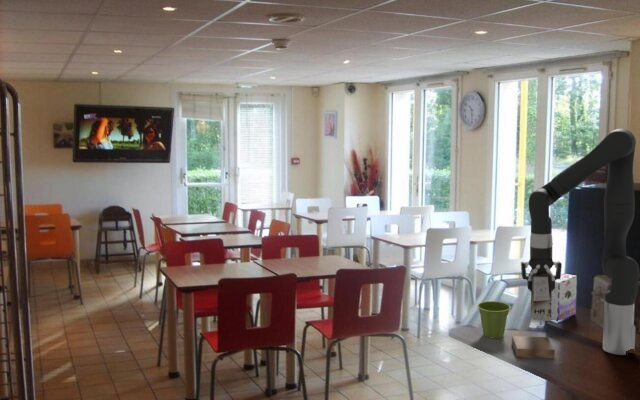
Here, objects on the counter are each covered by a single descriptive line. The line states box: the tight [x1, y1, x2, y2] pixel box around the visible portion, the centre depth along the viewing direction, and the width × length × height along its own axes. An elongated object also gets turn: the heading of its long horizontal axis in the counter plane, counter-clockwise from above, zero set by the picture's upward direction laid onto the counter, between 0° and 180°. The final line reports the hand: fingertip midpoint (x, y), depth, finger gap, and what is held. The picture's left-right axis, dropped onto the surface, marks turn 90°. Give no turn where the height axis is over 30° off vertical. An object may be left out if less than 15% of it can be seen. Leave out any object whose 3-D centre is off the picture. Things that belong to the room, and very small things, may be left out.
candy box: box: [551, 273, 578, 321], centre depth 260 cm, size 14×6×16 cm, turn 130°
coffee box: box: [530, 273, 552, 322], centre depth 238 cm, size 9×6×16 cm
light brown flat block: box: [511, 335, 556, 359], centre depth 228 cm, size 12×12×3 cm
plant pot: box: [476, 300, 512, 339], centre depth 243 cm, size 12×12×11 cm
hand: (540, 290), depth 238 cm, fingers closed on coffee box, 6 cm apart
